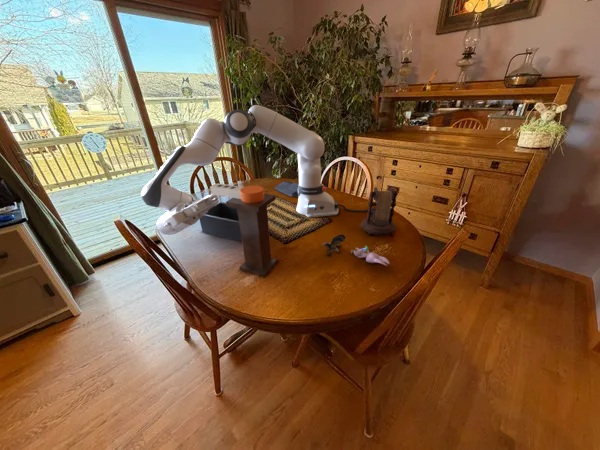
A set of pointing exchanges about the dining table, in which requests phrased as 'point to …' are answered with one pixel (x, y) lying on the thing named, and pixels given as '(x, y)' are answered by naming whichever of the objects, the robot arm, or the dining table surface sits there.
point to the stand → (255, 234)
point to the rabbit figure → (370, 256)
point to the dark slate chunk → (288, 188)
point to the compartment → (222, 222)
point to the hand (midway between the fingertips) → (206, 202)
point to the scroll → (381, 213)
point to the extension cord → (239, 192)
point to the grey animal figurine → (334, 243)
